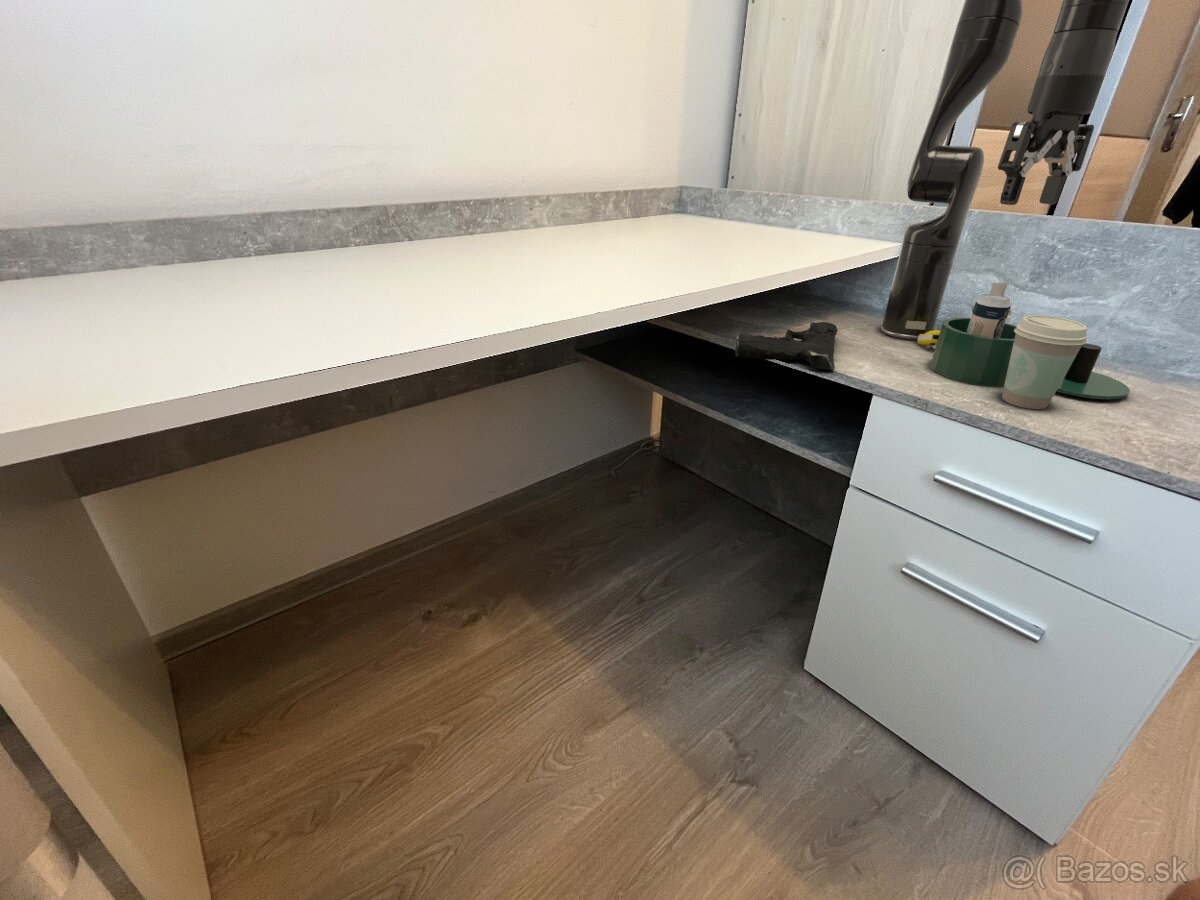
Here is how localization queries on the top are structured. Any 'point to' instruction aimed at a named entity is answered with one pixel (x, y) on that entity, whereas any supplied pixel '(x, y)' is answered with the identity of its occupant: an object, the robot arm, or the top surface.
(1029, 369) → the coffee cup
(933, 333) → the yellow curved piece
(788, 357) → the handgun
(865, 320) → the top surface
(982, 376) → the pot
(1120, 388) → the lid
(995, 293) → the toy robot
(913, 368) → the top surface
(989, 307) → the beer can
